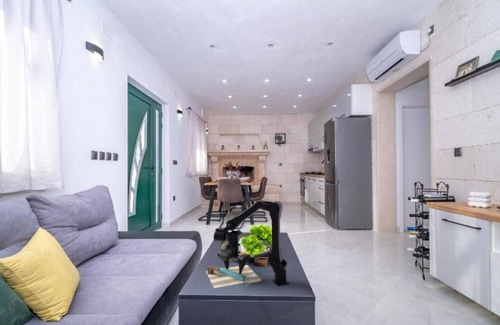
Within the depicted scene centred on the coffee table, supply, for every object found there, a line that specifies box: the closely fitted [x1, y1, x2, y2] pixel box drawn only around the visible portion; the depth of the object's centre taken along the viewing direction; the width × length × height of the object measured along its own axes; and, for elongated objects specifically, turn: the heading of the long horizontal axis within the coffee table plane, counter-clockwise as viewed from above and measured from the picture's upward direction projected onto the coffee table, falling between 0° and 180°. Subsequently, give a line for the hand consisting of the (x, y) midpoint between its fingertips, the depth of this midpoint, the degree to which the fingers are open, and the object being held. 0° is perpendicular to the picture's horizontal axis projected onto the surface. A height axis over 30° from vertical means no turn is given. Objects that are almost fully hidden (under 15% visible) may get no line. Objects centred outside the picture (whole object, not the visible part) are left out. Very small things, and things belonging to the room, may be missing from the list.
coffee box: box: [220, 239, 238, 262], centre depth 159 cm, size 9×6×16 cm
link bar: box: [217, 267, 246, 281], centre depth 133 cm, size 18×3×2 cm, turn 50°
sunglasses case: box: [253, 257, 269, 268], centre depth 156 cm, size 18×7×7 cm
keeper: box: [207, 265, 221, 275], centre depth 136 cm, size 6×3×3 cm, turn 60°
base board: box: [205, 264, 262, 289], centre depth 134 cm, size 21×24×1 cm
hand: (233, 271), depth 135 cm, fingers open, 9 cm apart
